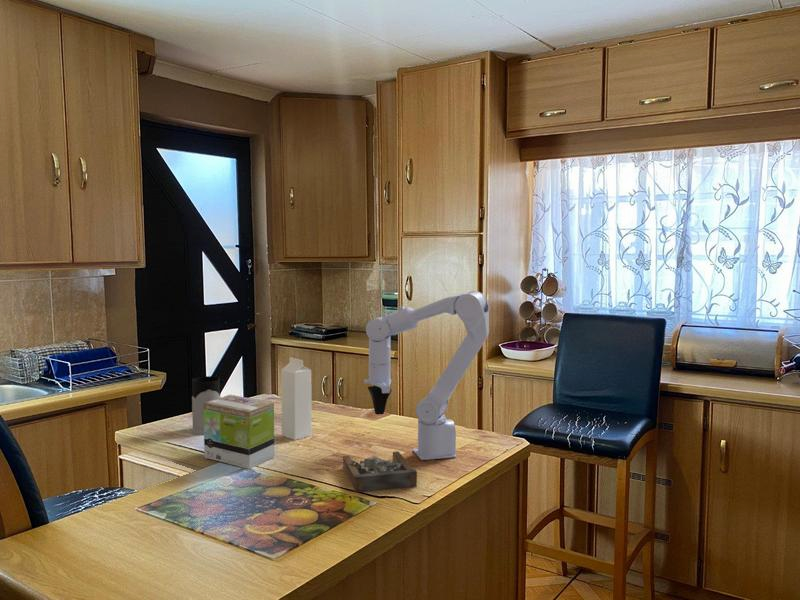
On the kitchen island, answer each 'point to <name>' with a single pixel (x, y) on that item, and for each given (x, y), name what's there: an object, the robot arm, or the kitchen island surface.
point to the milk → (296, 400)
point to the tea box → (239, 430)
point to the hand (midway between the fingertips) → (379, 413)
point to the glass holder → (203, 399)
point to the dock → (381, 476)
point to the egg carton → (376, 465)
